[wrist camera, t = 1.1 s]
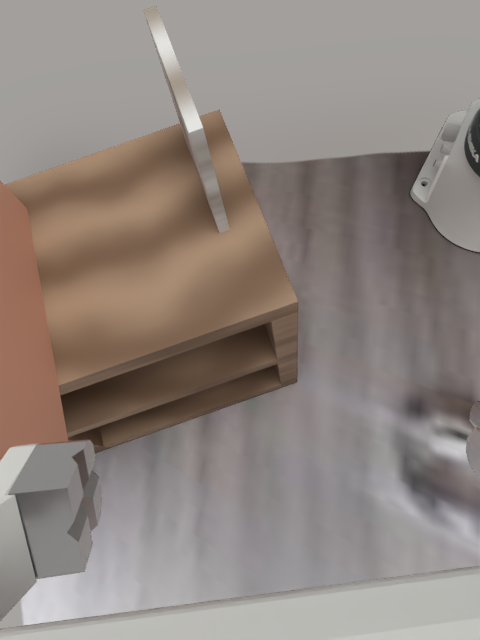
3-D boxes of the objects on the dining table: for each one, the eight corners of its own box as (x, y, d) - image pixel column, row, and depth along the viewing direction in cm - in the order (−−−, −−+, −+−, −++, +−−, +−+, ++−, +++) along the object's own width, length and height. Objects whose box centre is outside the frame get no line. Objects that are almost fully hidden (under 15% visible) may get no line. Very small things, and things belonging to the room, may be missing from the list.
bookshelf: (68, 321, 61) (-214, 123, 27) (249, 258, 61) (192, -19, 27) (94, 453, 54) (-235, 406, 21) (297, 382, 54) (299, 219, 21)
